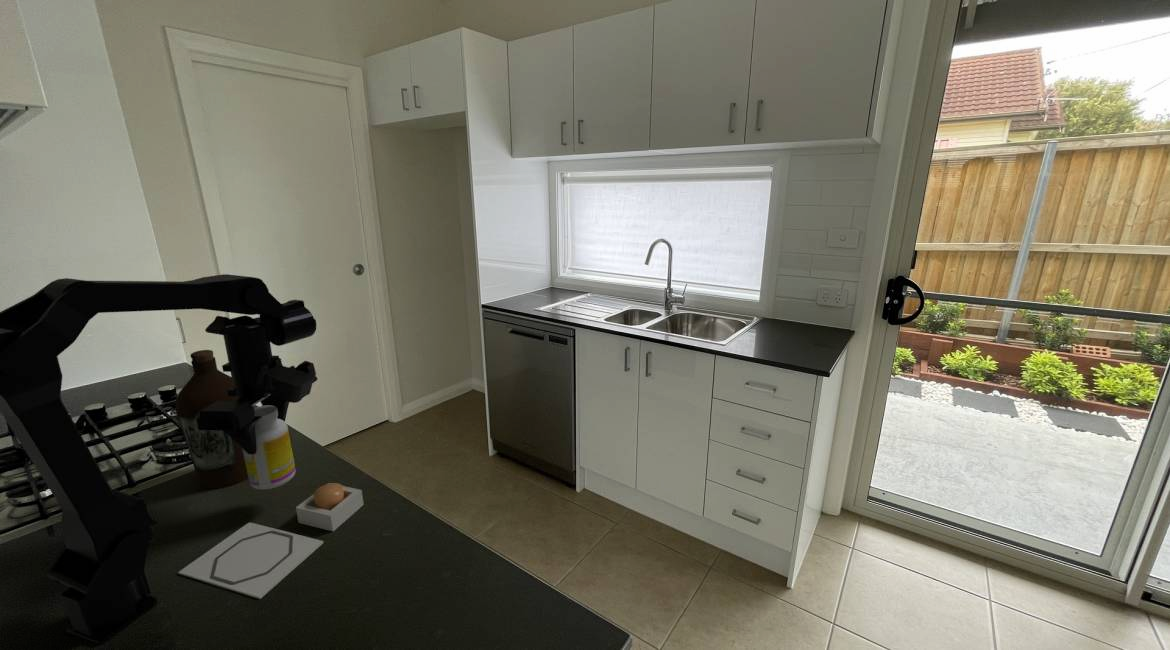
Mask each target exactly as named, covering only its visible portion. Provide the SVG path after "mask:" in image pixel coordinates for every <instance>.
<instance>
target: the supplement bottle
mask: <svg viewBox="0 0 1170 650" xmlns="http://www.w3.org/2000/svg"><path fill="white" fill-rule="evenodd" d="M254 411H255V415H254V416H262V417H261V419H260V420H259V421H258V422H257V423H256V424H255V434H256V445H257V447H256V454H254V455H250V454H248V453H247V452H246V451H245V450H244V449H243V448H242V450H243V455H244V459H245V464H246V468H247V473H248V478H247V479H248V481H249V484H250V486H251V487H252V488H254V489H255V490H256V489H257V490H270V489H274V488H278V487H281V486H283V485H285V484H287V483H288V482H290V481H291V480H292V479H293V477H294V476H295V475H296V464H295V459H294V453H293V449H292V444H291V438H290V433H289V427H288V424H287V422H286V420H285V421H283V420H281V419H277V417H278V411H277V407H275V406H272V405H265V406H262V405H260V406H255V407H254Z"/></svg>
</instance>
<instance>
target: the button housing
mask: <svg viewBox="0 0 1170 650" xmlns="http://www.w3.org/2000/svg"><path fill="white" fill-rule="evenodd" d="M327 484H330V482H328V483H327ZM342 486H343V491H344V498H345V499H344V500H343V501H342V502H340V503H339V504H338V505H337V506H335V507H334V508H333V509H332V510H331V511H329V510H325V509H321V508H317V507H315V501H314V495H313V494H312V495H311V496H308V498H307V499H305V500H304V501H302V502H301V503H300V504H299V505H297V506H296V507H295V510H296V511H295V512H296V515H297V521H298V523H299V524H302V525H306V526H311V527H314V528H318V529H320V530H321V529H323V530H326V531H330V532H335V530H337V529H338V528H339V527H340V526H341V525H342V524H343V523H345V521H347V520H348V519H350V517H352V516H353V515H354V514H355V513H356V512H357V511H358V510H359V509H361V508H362V506H364V499H363V498H364V497H363V490H362V489H359V488H355V487H349V486H345V485H342Z"/></svg>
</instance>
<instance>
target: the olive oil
mask: <svg viewBox="0 0 1170 650" xmlns="http://www.w3.org/2000/svg"><path fill="white" fill-rule="evenodd" d="M190 358H191V362H190V364H191V366H192V367H191V368H192V369H193V375H192V376H191V377H190V379H189V380H188V381H187V382H186V383H185V384H184V386H183V387H182V388H181V390H180V391H179V393H178V394H177V396H176V399H175V407H174V408H175V413H176V417H177V419H178V422H179V426H180V428H181V431H182V434H183V436H184V440H185V443H186V446H187V449H188V452H189V455H190V459H191V462H192V464H193V469H194V472H195V475H196V478H197V482H198V484H199V486H201V487H203V488H206V489H219V488H226V487H230V486H232V485H236V484H238V483H241V482H243V481H244V480H246V479H249V478H248V473H247V468H246V464H245V459H244V455H243V450H242V447H240V446H239V445H238V444H237V443H236V442H235V441H234V440H233V439H232V438H231V437H230V436H229V435H228V434H227V433H225V432H224V431H223V430H198V428H197V423H196V419H195V416H196V415H197V414H198V413H199V412H200V411H201V410H203V409H205V408H206V407H208V406H210V405H212V404H213V403H215V402H217V401H237V400H238V398H237V396H228V393H227V390H228V389H230V388H232V387H233V382H232V377H231V376H230V375H228V374H226V373H224V372H223V371H221V370H220V369H218V366H217V361H216V357H215V356H214V351H213V350H211V349H203V350H196V351H193V352H192V353H190Z"/></svg>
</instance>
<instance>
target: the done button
mask: <svg viewBox="0 0 1170 650" xmlns="http://www.w3.org/2000/svg"><path fill="white" fill-rule="evenodd" d="M329 483H330V482H329ZM343 486H344V485H342V484H341V483H337V482H331V483H330V484H328V483H327V484H324V485H322V486H320V487H318V488H316V489H315V491H313V494H312V495H314V501H315V507H317V508H321V509H325V510H329V511H331V510H332V509H333V508H334V507H335V506H337V505H338V504H339V503H340V502H342V501H343V500H344V499H345V498H344V491H343Z"/></svg>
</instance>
